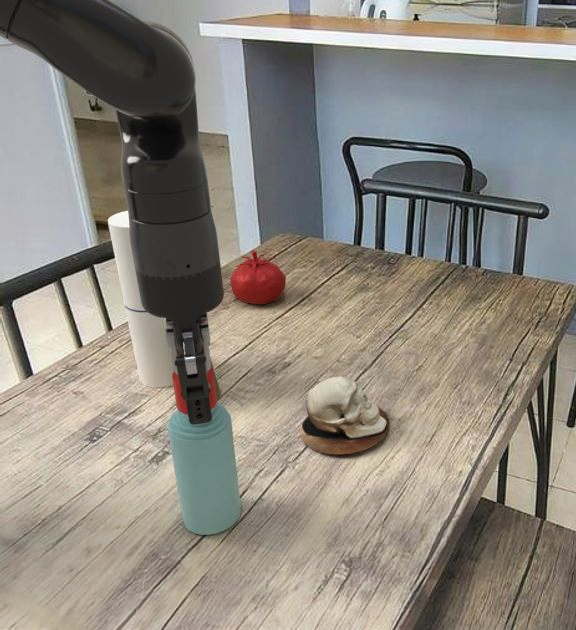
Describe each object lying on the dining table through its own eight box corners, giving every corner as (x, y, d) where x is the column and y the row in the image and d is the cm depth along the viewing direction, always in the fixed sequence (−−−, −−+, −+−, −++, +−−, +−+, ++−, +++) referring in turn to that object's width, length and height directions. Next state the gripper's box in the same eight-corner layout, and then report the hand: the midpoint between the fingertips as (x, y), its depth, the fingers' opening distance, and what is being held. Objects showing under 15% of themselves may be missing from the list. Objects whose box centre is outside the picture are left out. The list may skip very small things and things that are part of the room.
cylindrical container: (151, 393, 99) (120, 231, 87) (131, 372, 103) (99, 216, 92) (197, 375, 103) (173, 219, 91) (176, 357, 108) (151, 205, 96)
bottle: (182, 539, 74) (158, 399, 66) (183, 499, 80) (161, 365, 71) (242, 529, 76) (227, 391, 67) (239, 490, 81) (225, 358, 73)
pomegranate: (262, 315, 121) (258, 267, 116) (221, 301, 125) (215, 254, 121) (298, 294, 128) (295, 248, 124) (258, 282, 133) (253, 237, 128)
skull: (402, 400, 97) (390, 381, 87) (384, 472, 93) (369, 461, 84) (323, 384, 99) (302, 364, 90) (303, 454, 96) (280, 441, 86)
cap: (218, 412, 69) (214, 380, 68) (177, 418, 68) (172, 386, 66) (215, 390, 73) (212, 360, 71) (176, 396, 72) (171, 365, 70)
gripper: (225, 284, 58) (243, 444, 66) (214, 227, 70) (230, 369, 78) (131, 294, 56) (162, 458, 64) (136, 234, 68) (161, 379, 76)
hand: (199, 408), depth 71 cm, fingers closed on cap, 3 cm apart
